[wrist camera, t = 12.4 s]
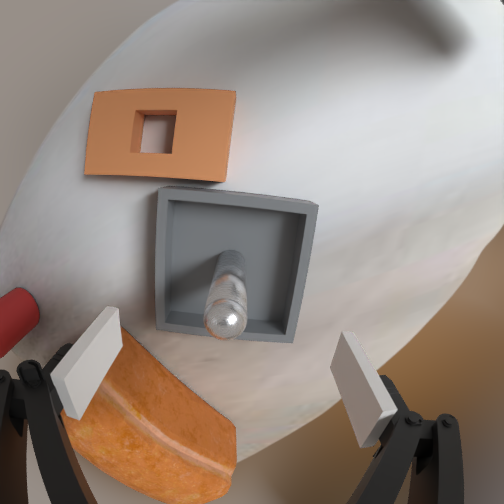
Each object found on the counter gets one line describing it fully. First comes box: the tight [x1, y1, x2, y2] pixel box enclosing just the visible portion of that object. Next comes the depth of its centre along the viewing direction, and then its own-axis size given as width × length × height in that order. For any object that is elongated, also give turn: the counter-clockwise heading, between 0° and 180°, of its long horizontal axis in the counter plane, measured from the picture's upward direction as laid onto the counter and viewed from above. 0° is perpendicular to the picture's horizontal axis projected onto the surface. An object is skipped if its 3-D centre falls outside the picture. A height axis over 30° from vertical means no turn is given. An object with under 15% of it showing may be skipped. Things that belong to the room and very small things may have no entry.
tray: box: [155, 186, 319, 343], centre depth 30 cm, size 15×15×4 cm
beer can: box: [0, 288, 40, 358], centre depth 27 cm, size 7×7×12 cm
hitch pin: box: [203, 250, 247, 340], centre depth 24 cm, size 3×3×14 cm
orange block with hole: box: [84, 88, 236, 182], centre depth 26 cm, size 15×9×3 cm, turn 83°
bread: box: [60, 326, 237, 504], centre depth 30 cm, size 14×26×16 cm, turn 37°
